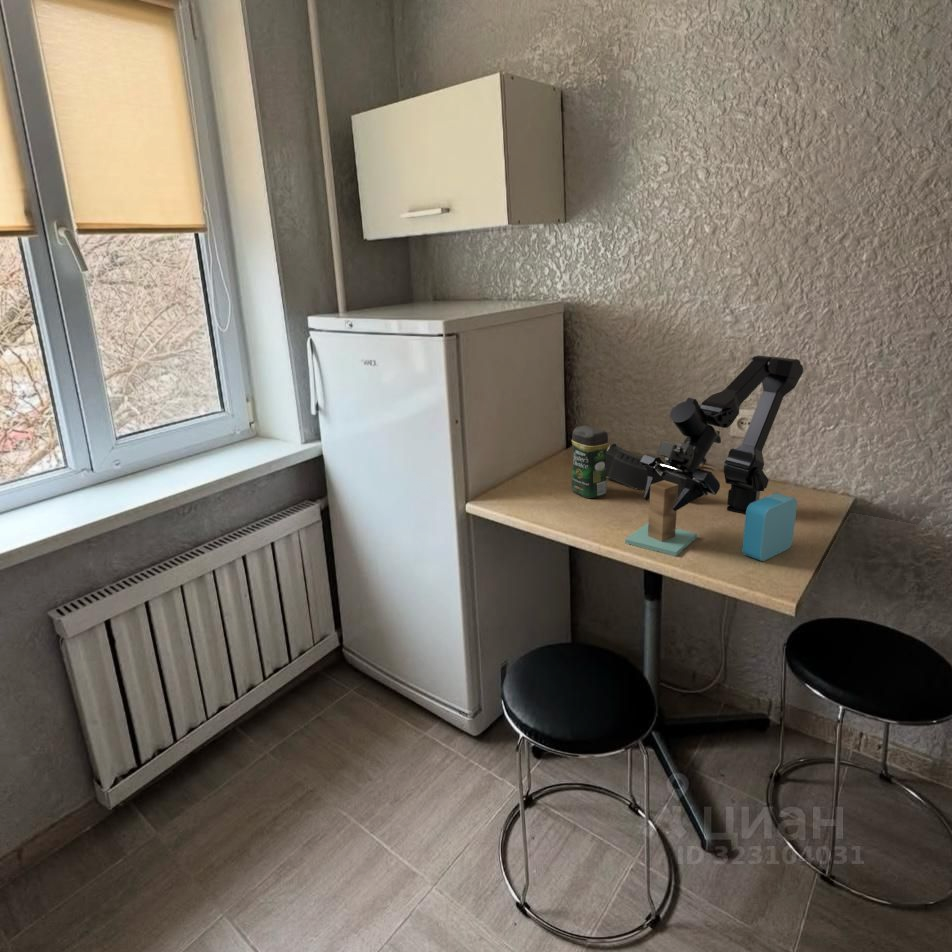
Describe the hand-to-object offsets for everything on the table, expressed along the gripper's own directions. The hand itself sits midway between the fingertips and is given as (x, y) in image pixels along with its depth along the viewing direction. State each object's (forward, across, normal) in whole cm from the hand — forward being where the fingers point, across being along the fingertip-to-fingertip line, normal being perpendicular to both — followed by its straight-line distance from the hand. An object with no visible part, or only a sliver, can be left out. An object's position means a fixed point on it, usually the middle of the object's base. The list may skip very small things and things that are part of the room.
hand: (659, 504), depth 146 cm
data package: (-3, +18, +17) cm, 25 cm away
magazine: (-10, -25, +24) cm, 36 cm away
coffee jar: (-1, -33, +14) cm, 36 cm away
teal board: (+5, 0, +7) cm, 9 cm away
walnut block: (+5, 0, +7) cm, 8 cm away
